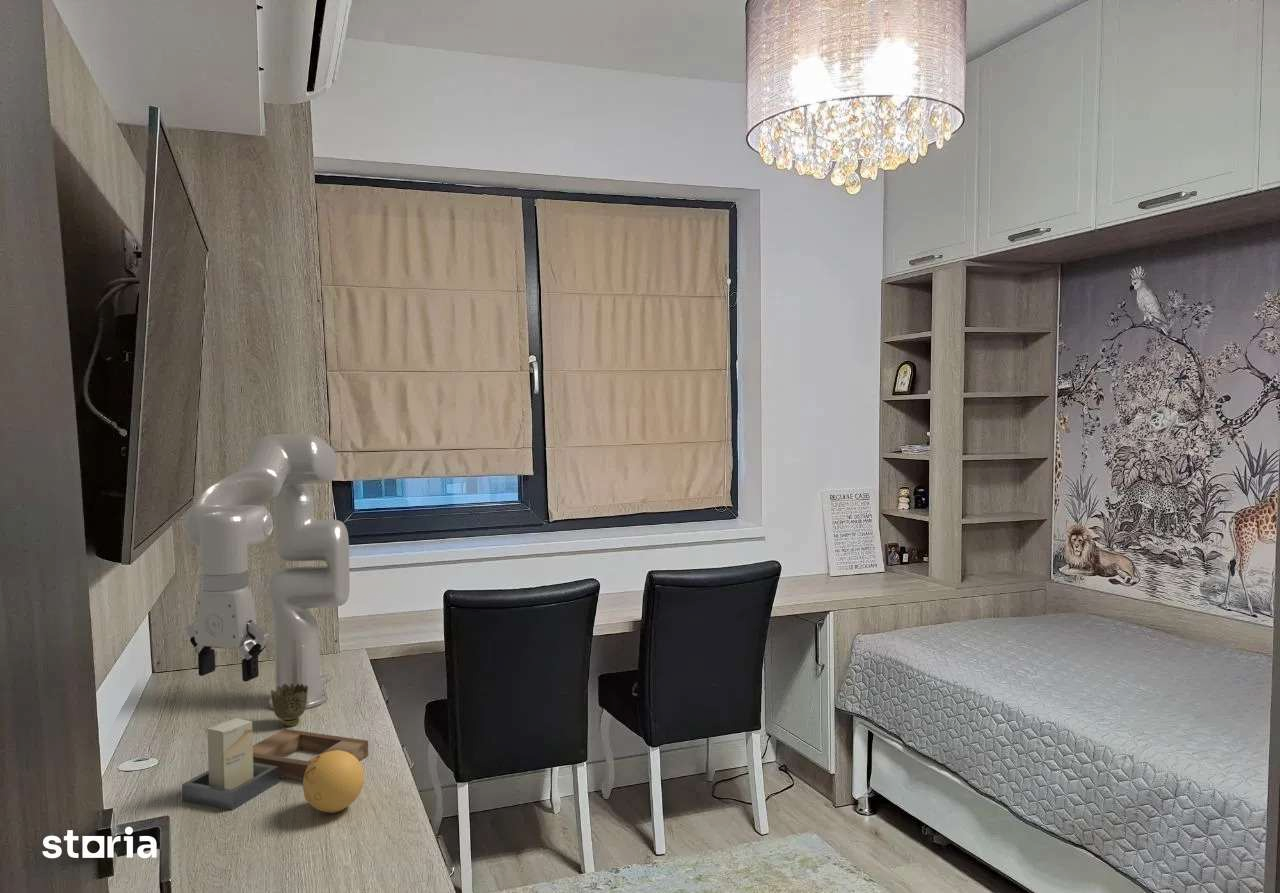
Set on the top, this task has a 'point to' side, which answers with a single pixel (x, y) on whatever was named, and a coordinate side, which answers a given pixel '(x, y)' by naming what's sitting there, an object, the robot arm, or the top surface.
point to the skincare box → (230, 753)
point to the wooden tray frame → (293, 740)
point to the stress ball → (333, 781)
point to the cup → (289, 703)
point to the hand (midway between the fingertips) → (228, 676)
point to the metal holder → (227, 798)
